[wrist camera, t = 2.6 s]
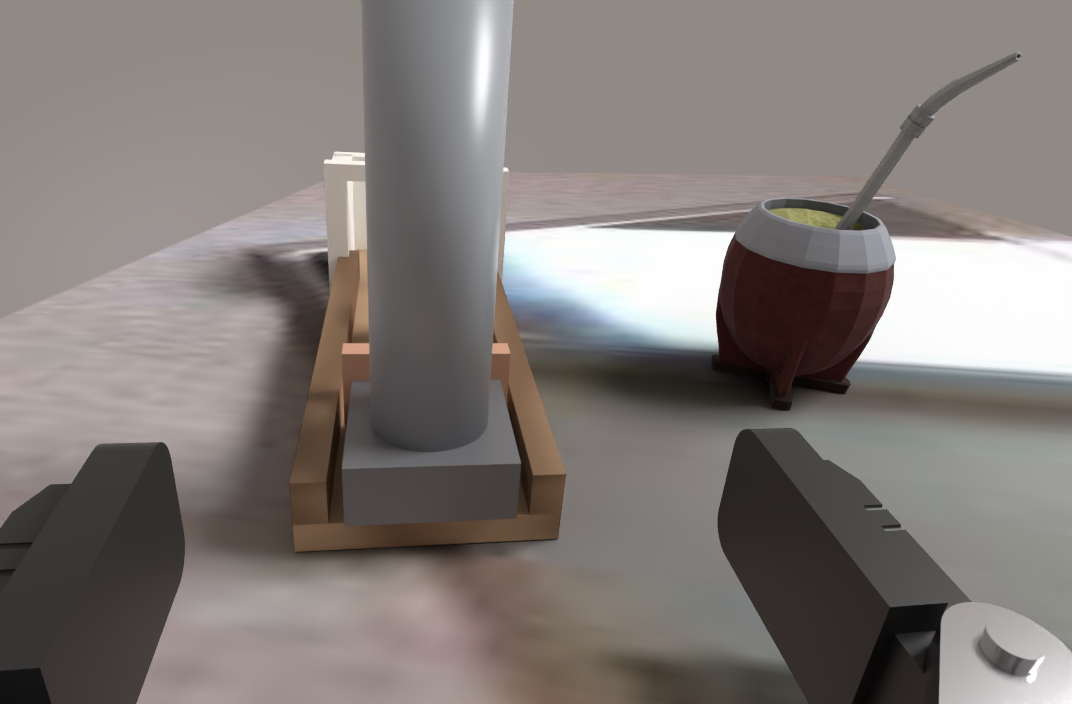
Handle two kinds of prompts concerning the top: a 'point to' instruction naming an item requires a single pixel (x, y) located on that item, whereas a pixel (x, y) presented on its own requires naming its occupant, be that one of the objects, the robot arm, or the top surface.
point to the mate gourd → (814, 277)
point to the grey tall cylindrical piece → (431, 270)
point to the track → (325, 434)
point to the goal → (364, 208)
